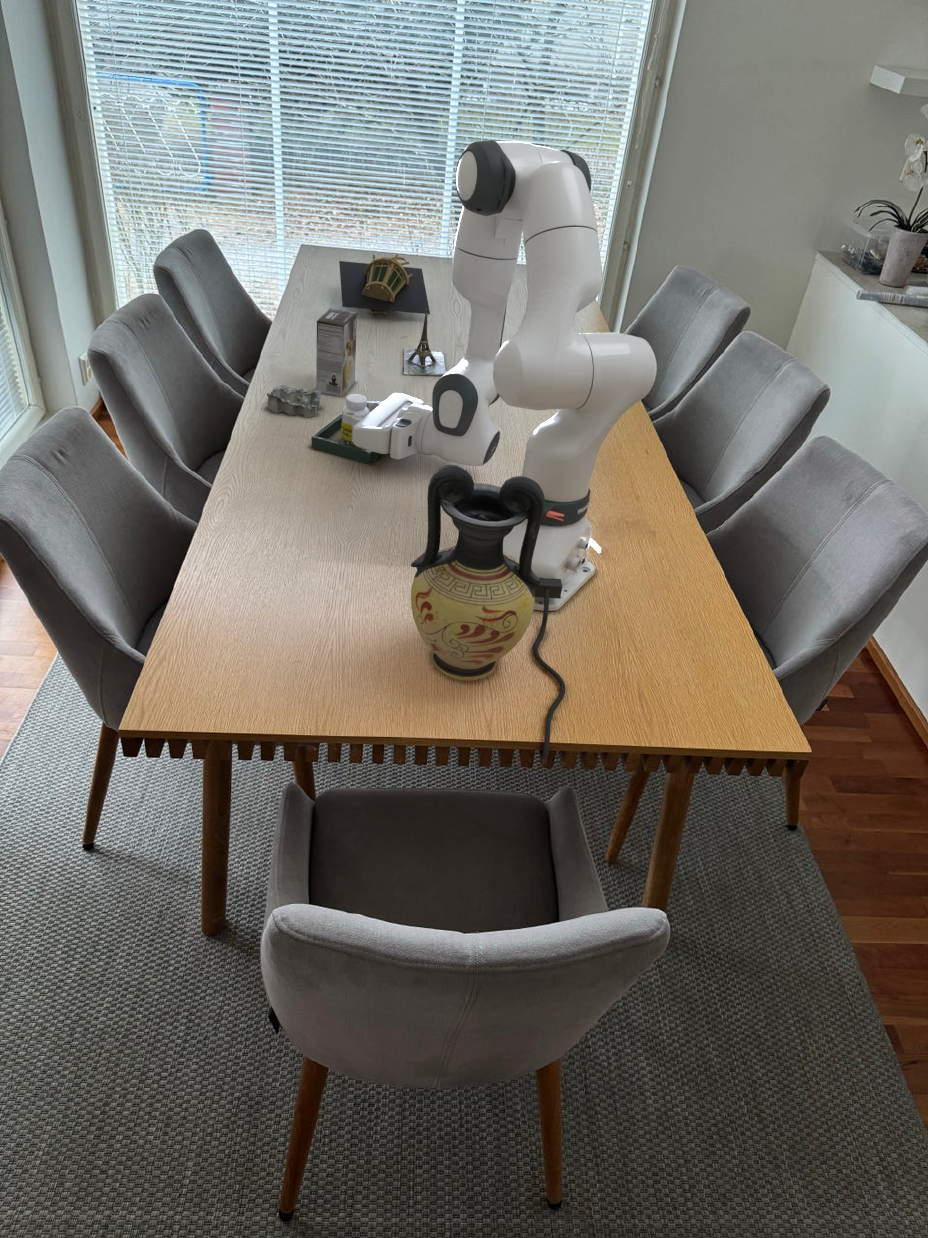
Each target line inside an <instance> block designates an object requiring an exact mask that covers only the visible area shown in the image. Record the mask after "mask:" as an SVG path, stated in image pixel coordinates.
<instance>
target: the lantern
mask: <svg viewBox="0 0 928 1238" xmlns="http://www.w3.org/2000/svg"><path fill="white" fill-rule="evenodd" d="M399 260H400V261H403V262H399ZM338 262H339V277H340V278H339V279H340V289H341V290H340V291H341V292H340V293H341V307H342V308H350V309H363V310H369V311H370V312H369V314H370V315H373V313H376V314H384V315H386V314H388V312H397V313H410V314H411V313H413V314H422V315H425V313H426V310H427V313H428V315H431V311H430V306H429V301H428V300H429V299H428V294H427V290H426V283H425V279H424V273H423V268H420V267H419V268H418V267H409V266H407V265H410V261H407V259H406V258H404V257H402V256H401V257H399V254H398V253H396V254H395V256H392V257H386V256H384V257H383V256H382V257H378V258H376V255H375V254H374V253H373V254H372V260H371V261H370V262H369V263H365V262H364V263H363V262H354V261H345V260H339V261H338Z"/></svg>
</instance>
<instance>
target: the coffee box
mask: <svg viewBox="0 0 928 1238" xmlns="http://www.w3.org/2000/svg"><path fill="white" fill-rule="evenodd" d="M357 328H358V312H357V311H356V312H355V311H349V310H345V309H344V310H343V309H338V308H337V309H336V308H328V310H327V311H325V313H323V314H322V315H321V316H320V317H319V318H318V319H317V320H316V356H315V357H316V360H315V361H316V363H315V364H316V366H315V367H316V369H315V370H316V371H315V372H316V373H315V374H316V375H315V385H316V386H315V391H318V390H321V394H325V395H332V396H336V397H344V395H345V394H347V392H348V391H349V390H350V388H351V387H352V386H353V385H354V383H355V382H356V355H357V354H356V353H357Z"/></svg>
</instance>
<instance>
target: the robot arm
mask: <svg viewBox="0 0 928 1238" xmlns="http://www.w3.org/2000/svg"><path fill="white" fill-rule="evenodd" d="M454 180H455V190H456V194H457V198H458V199H459V201H460V203H461V205H462V210H461V213H460V217H459V221H458V225H457V228H456V229H457V230H456V235H455V240H454V246H453V252H452V260H451V261H452V262H451V277H452V279H451V280H452V285H453V286H454V288H455V290H456V291H457V292H458V294H459V295H460V296H461V297H462V298H463V299H464V300H466V301H468V303H469V305H470V311H471V312H470V313H471V314H470V323H469V330H468V339H467V340H468V341H467V347H466V351H465V353H464V355H463V357H462V358H461V360H460V361H459V362H458V363H457V365H456V366H454V367H453V368H451V369H450V370H448V371H446V374H442V376H441V377H439V378H438V380H436V382H435V384H434V386H433V389H432V393H431V402H432V403H431V406H432V407H431V406H429V405H426V404H425V402H424V401H423V400H421V399H419V398H417V397H413V396H411V395H408V394H405V393H401V392H394V393H392V394H391V395H389V396H388V397H387V398H386V399H385V400H383V401H380V400H379V401H378V400H377V401H375V400H374V401H368V400H367V406H366V407H367V408H368V409H369V412H370V413H369V414H368V415H367V416H365V417H364V418H357V417H355V416H354V414H353V413H349V412H347V413H345V414H344V415H343V419H342V421H343V423H345V424H349V425H351V426H352V427H353V429H352V442H353V443H354V444H355V445H356V446H358V447H360V448H362V449H364V450H369V451H373V452H376V453H381V454H380V455H387V454H389V457H390V458H391V459H394V460H403V459H404V458H407V457H411V456H414V455H418V454H421V455H424V456H437V457H439V458H440V459H442V460H444V461H446V462H451V463H455V464H457V465H458V464H459V465H464V466H470V467H483V466H484V465H486V464H487V463H488V462H489V461H490V460H491V459H492V458H493V456H494V454H495V452H496V450H497V448H498V446H499V443H500V438H501V437H500V436H501V432H500V430H499V428H498V427H497V426H496V424H495V422H494V419H493V417H492V414H491V411H490V406H491V405H493V404H494V403H496V402H497V401H498V400H499V399H501V400H502V401H503V402H504V403H505V404H506V405H507V406H510V407H515V408H520V409H525V410H532V411H551V410H557V411H556V413H554V414H553V415H552V416H551V417H550V418H549V419H547V420H545V421H544V422H542V423H540V424H539V425H538V426H536V428H534V429H533V430H532V432H531V433H530V435H529V437H528V439H527V442H526V447H525V453H524V459H523V460H524V461H523V464H522V471H521V476H523V477H527V478H530V479H532V480H534V481H535V482H536V483H538V484H539V485H540V487H541V489H542V491H543V493H544V496H545V506H544V511H543V516H542V520H541V525H540V529H539V533H538V537H537V541H536V545H535V549H534V554H533V558H532V566H531V569H532V571H533V572H534V573H535V574H536V575H537V577H538V578H539V579H540V581H541V584H539V585H537V586H535V587H534V591H535V600H534V609H533V611H534V610H536V611H542V612H543V614H542V620H541V625H540V631H539V633H538V636H537V638H536V639H535V641H534V643H533V646H532V647H533V648H532V654H533V657H534V659H535V661H536V662H537V663H538V664H539V665H540V666H541V668H543V669H544V670H545V671H546V672H548V673H549V674H550V675H551V676H553V677H554V679H555V680H556V681H557V683H558V685H559V693H558V695H557V697H556V698H555V700H554V701H553V702H552V704H551V705H550V707H549V709H548V711H547V714H546V718H545V724H544V737H543V738H544V739H543V747H542V754H541V757H542V758H543V759H544V760H545V759H548V758H549V752H550V751H549V750H550V742H551V727H552V726H551V725H552V721H553V715H554V713H555V711H556V709H557V708H558V706H559V705H560V704H561V702H562V701H563V699H564V698H565V694H566V684H565V681H564V679H563V677H562V676H561V675H560V673H558V672H557V671H556V670H555V669H553V668H552V667H551V666H550V665H548V664H547V663H546V662H545V661H544V660H543V659H542V657H541V656H540V653H539V646H540V644H541V643H542V640H543V639H544V636H545V633H546V628H547V624H548V618H549V612H556V611H559V610H560V609H561V608H562V607H563V606H564V605H565V604H566V603H567V602H568V601H569V600H571V598H572V597H573V596H574V595H575V594H577V592H579V590H580V589H581V588H582V587H584V585H585V584H586V583H587V582H588V581H589V580H590V579H591V578H592V577H593V576H594V575H595V573H596V567H595V565H594V564H593V563H592V562H590V561H589V560H588V557H589V551H590V547H592V548H593V549H594V550H595V551H596V552H597V553H598V554H601V551H602V547H601V546H600V545H599V544H598V543H597V542H596V541H595V540H594V539H593V538H592V534H593V526H592V523H591V522H590V521H589V518H588V517H587V513H588V508H589V506H590V501H591V488H590V486H591V485H590V484H591V480H592V476H593V472H594V469H595V465H596V461H597V457H598V454H599V451H600V449H601V447H602V444H603V442H604V441H605V439H606V438H607V436H608V435H609V433H610V431H611V430H612V428H613V427H614V426H615V425H616V423H617V422H618V421H619V419H620V418H621V417H622V416H623V415H624V414H625V413H626V412H627V411H628V410H629V409H631V408H632V407H633V406H635V404H637V403H639V402H641V401H642V400H643V399H645V398H646V397H647V396H648V394H649V393H650V392H651V390H652V388H653V386H654V384H655V381H656V378H657V372H658V364H657V359H656V355H655V353H654V350H653V348H652V346H651V345H650V343H649V342H648V341H647V340H646V339H645V338H643V337H640V336H635V335H631V334H626V333H621V332H615V331H612V332H609V331H608V332H577V331H576V324H575V320H576V314H577V313H579V312H580V311H582V310H583V309H585V308H586V307H588V306H589V305H590V304H592V303H593V302H594V301H595V300H596V299H597V297H598V296H599V295H600V292H601V290H602V287H603V284H604V277H603V276H604V275H603V267H602V258H601V250H600V240H599V239H600V238H599V231H598V223H597V218H596V213H595V208H594V204H593V203H594V202H593V199H592V195H591V191H592V175H591V171H590V167H589V164H588V163H587V161H586V160H585V158H583V157H582V156H580V155H578V154H577V153H575V152H573V151H569V150H566V149H560V150H559V149H556V148H551V147H548V146H543V145H538V144H533V143H531V142H525V141H510V140H509V141H496V140H494V139H483V140H477V141H472V142H470V143H469V144H468V145H467V146H466V147H465V148H464V150H463V151H462V152H461V154H460V156H459V158H458V160H457V164H456V170H455V179H454ZM522 237H523V246H524V247H523V248H524V257H525V264H526V265H525V266H526V267H525V269H526V280H527V281H526V282H527V300H526V305H525V310H524V312H523V313H524V314H523V316H522V319H521V321H520V324H519V325H518V327H517V328H516V330H515V331H514V333H513V334H512V335H511V336H510V337H509V338H508V339H507V340H506V341H504V342H503V337H504V336H503V335H504V328H505V322H506V315H507V306H508V302H509V301H508V300H509V297H510V292H511V289H512V285H513V281H514V277H515V274H516V269H517V264H518V260H519V254H520V249H521V242H522ZM527 521H528V518H526V520H525V521H523V522H522V523H521V524H519V525H517V526H514V528H513V529H512V531H511V532H510V533H509V534H508V535H506V536H505V537H504V540H503V551H504V552H507V553H508V554H510V555H511V556H513V557H514V558H516V559H517V560H518V561H519V558H520V552H521V547H522V543H523V539H524V535H525V531H526V526H527ZM518 907H519V903H517V902H514V901H513V902H512V907H511V910H510V915H511V914H512V915H515V916H516V914H517V909H518Z"/></svg>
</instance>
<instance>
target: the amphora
mask: <svg viewBox="0 0 928 1238" xmlns="http://www.w3.org/2000/svg"><path fill="white" fill-rule="evenodd" d="M426 496H427V497H426V498H427V500H426V501H427V538H426V540H427V542H426V547H425V551H424V552H423V553H422V554H421V555H419V556H418V557H417V558H415V560H413V561H412V562H411V564H410V567H412V568H415V569H416V572H415V574H414V577H413V579H412V580H413V581H412V584H411V589H410V609H411V614H412V617H413V621H414V624H415V627H416V629H417V632H418V634H419V636H420V638H421V639H422V641H423V643H424V645H426V647H427V648H428V649H429V650H431V652H432V661H433V663H434V665H435V667H436V668H437V669H438V670H439V671H440V672H441V673H443V674H444V675H446V676H448V677H449V678H452V679H456V680H459V681H471V682H472V681H477V680H481V679H482V680H483V679H484V678H487V677H489V676H490V675H491V674H492V673H493V672H494V671H495V669H496V667H497V661H498V660H500V659H501V658H503V657H504V656H506V655H508V654H509V653H510V652H511V651H512V650H513V649H514V648H515V647H516V646H517V645H518V644H519V642H520V641H521V640H522V638H523V637H524V635H525V633H526V631H527V629H528V627H529V625H530V623H531V620H532V617H533V614H534V600H535V591H534V587H535V586H537V585H539V584H541V581H540V579H539V578H538V577H537V575H536V574H535V573H534V572H533V571H532V569H531V566H532V558H533V554H534V549H535V545H536V541H537V537H538V533H539V529H540V525H541V520H542V516H543V511H544V506H545V496H544V493H543V491H542V489H541V487H540V485H539V484H538V483H536V482H535V481H534V480H532V479H530V478H527V477H523V476H522V475H521V476H519V475H518V476H512V477H510V478H508V479H506V480H505V481H504V482H503V484H502V486H499V485H495V484H491V483H485V482H484V483H482V482H475V481H474V478H473V476H472V475H471V474H470V473H469V472H468V471H467V470H466V469H465V468H464V467H462V466H459V465H457V464H456V465H455V464H447V465H444V466H441V467H439V468H438V469H437V470H436V471H435V472H433V474H432V476H431V478H430V480H429V484H428V487H427V495H426ZM442 511H443V512H444V513H445V514H446V515H447V516H448V517H450V518H451V521H452V523H453V526H454V527H455V528H456V529H457V530H458V535H457V540H456V543H455V544H451V545H446V546H444V547H442V548H440V546H441V533H442ZM526 518H528V521H527V526H526V531H525V535H524V539H523V543H522V547H521V552H520V558H519V561H518V560H517V559H516V558H514V557H513V556H511V555H510V554H508V553H507V552H504V551H503V540H504V537H505V536H506V535H508V534H509V533H510V532H511V531H512V529H513V528H514V526H517V525H519V524H521V523H522V522H523V521H525V520H526Z"/></svg>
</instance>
